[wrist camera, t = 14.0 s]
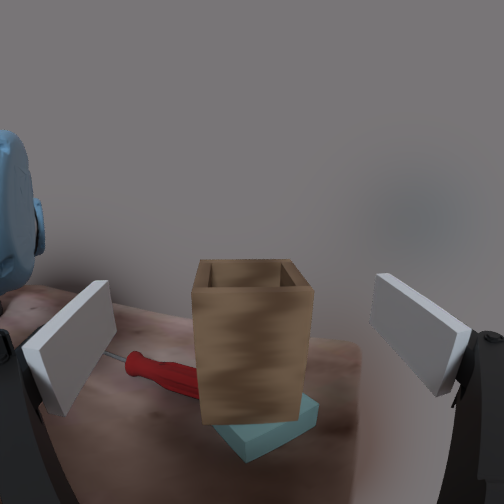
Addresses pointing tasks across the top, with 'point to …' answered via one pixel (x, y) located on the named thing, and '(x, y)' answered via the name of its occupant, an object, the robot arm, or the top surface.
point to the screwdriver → (162, 373)
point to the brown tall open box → (250, 340)
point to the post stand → (268, 432)
